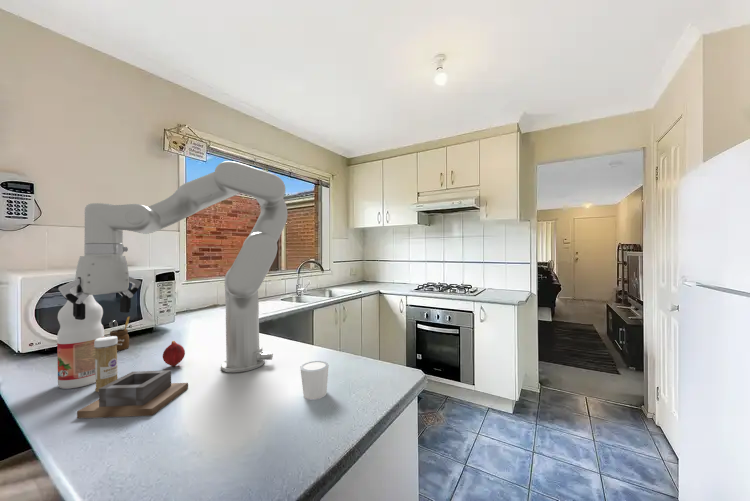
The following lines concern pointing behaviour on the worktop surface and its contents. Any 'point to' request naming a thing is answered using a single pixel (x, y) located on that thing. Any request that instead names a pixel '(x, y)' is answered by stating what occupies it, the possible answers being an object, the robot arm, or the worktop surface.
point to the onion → (173, 354)
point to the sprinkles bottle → (105, 361)
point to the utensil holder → (121, 336)
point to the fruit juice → (78, 343)
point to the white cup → (314, 379)
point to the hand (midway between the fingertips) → (103, 315)
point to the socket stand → (134, 395)
